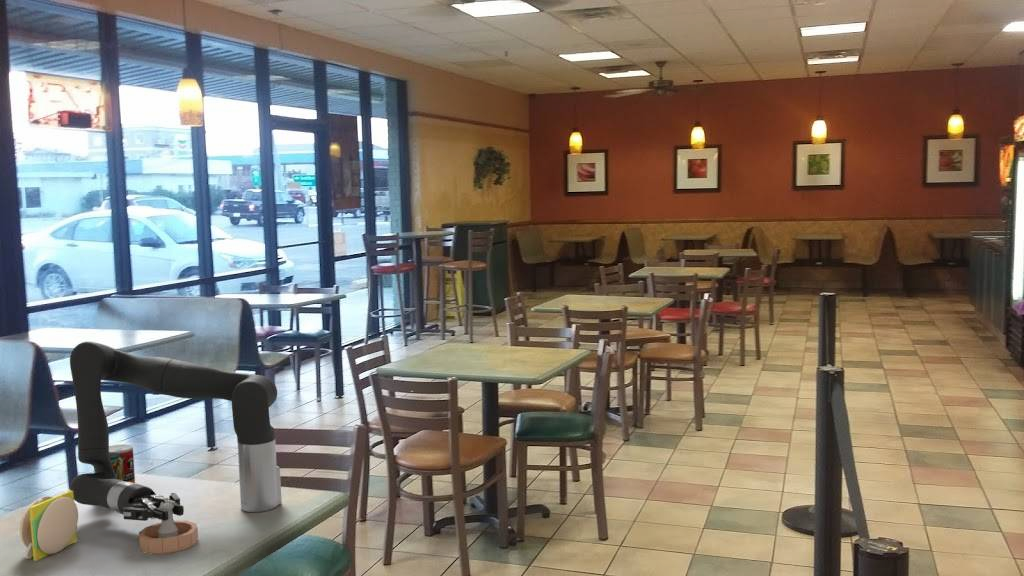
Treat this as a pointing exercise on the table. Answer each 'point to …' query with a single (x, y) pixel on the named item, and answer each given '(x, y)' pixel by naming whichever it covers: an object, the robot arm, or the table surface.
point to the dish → (171, 544)
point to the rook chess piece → (167, 522)
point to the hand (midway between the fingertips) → (174, 513)
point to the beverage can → (116, 466)
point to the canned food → (125, 460)
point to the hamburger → (49, 525)
